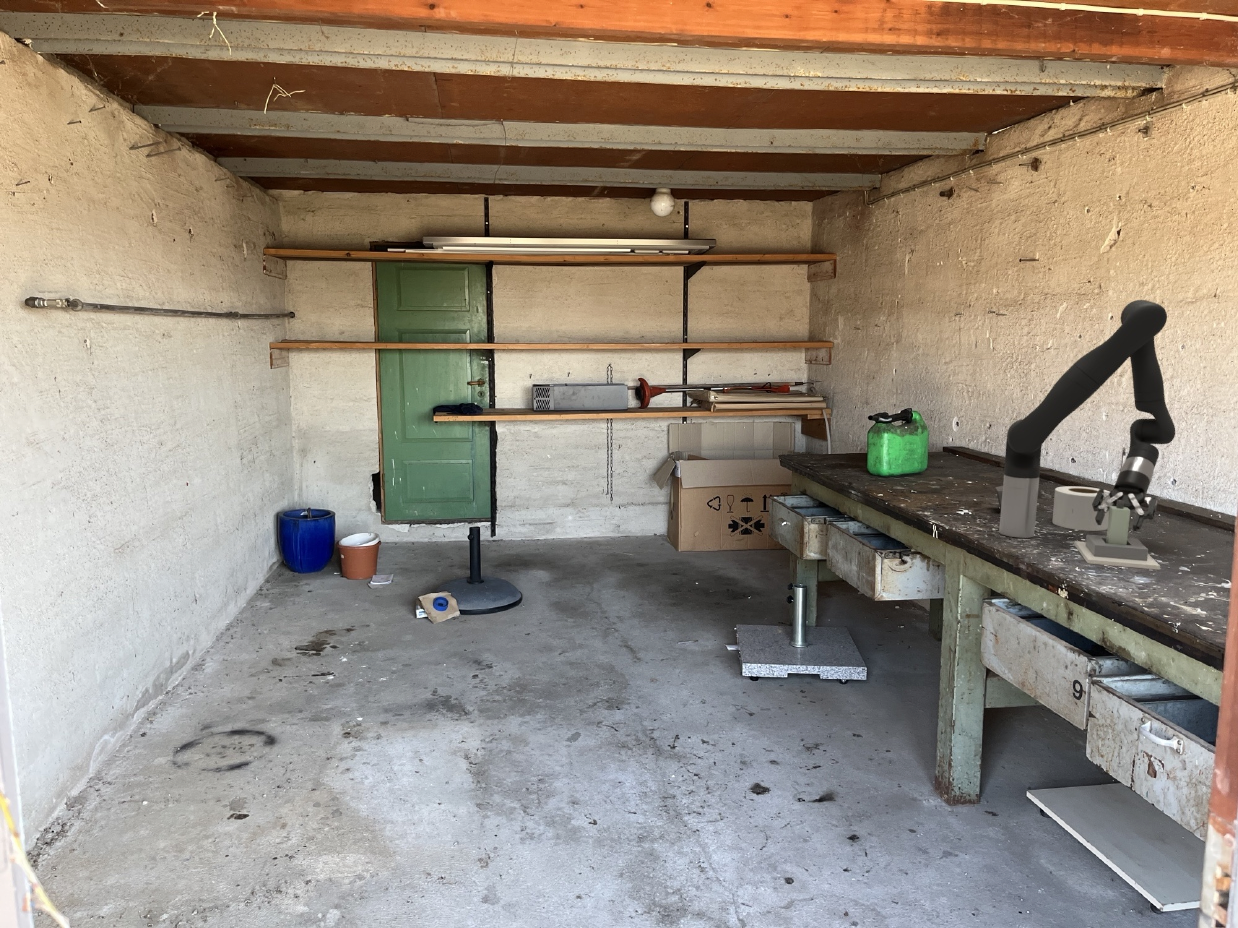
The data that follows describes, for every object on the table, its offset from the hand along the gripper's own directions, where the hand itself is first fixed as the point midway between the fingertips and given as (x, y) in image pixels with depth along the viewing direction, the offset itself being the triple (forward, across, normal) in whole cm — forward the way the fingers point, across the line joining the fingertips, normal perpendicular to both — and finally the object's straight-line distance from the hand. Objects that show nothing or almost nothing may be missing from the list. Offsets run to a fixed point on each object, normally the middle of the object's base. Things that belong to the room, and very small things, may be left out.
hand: (1116, 526), depth 224 cm
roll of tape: (-18, -19, +30) cm, 40 cm away
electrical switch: (-19, -42, +31) cm, 55 cm away
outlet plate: (+5, 0, +7) cm, 9 cm away
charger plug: (+4, 0, +6) cm, 7 cm away
